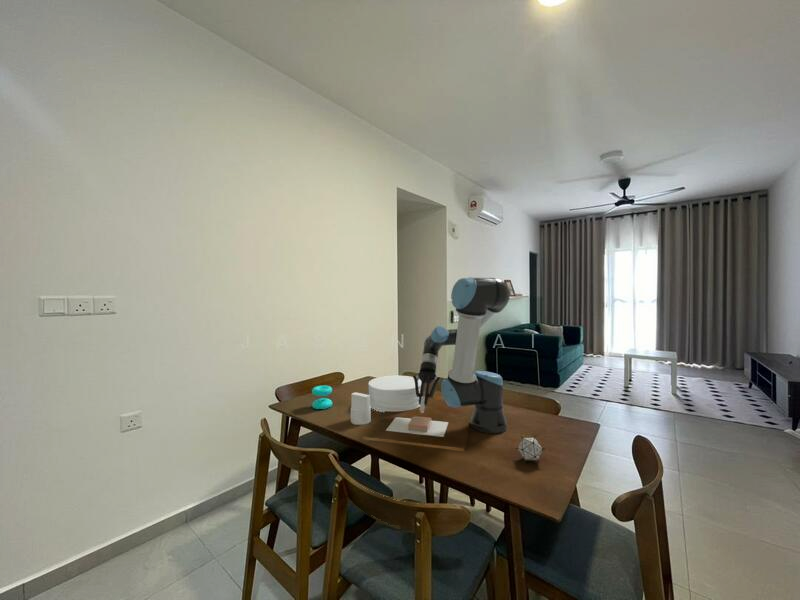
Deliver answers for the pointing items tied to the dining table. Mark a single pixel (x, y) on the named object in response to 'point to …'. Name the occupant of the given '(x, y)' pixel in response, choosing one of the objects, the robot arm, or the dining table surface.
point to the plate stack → (393, 393)
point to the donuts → (322, 402)
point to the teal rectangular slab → (419, 424)
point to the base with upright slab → (360, 408)
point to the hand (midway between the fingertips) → (421, 411)
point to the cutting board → (402, 426)
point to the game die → (530, 449)
